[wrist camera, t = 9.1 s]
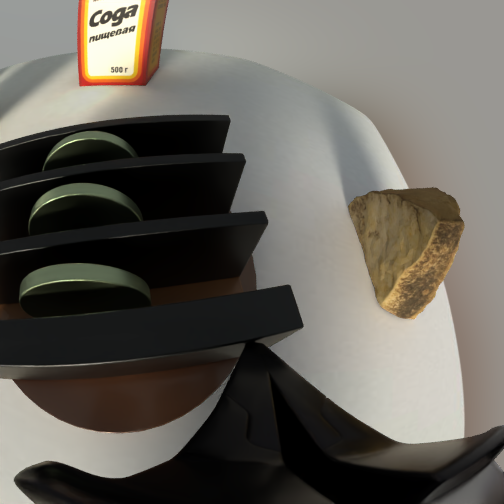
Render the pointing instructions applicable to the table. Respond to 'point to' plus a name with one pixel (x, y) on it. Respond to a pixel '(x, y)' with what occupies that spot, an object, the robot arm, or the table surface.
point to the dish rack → (128, 251)
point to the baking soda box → (119, 41)
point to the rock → (407, 244)
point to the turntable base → (133, 392)
